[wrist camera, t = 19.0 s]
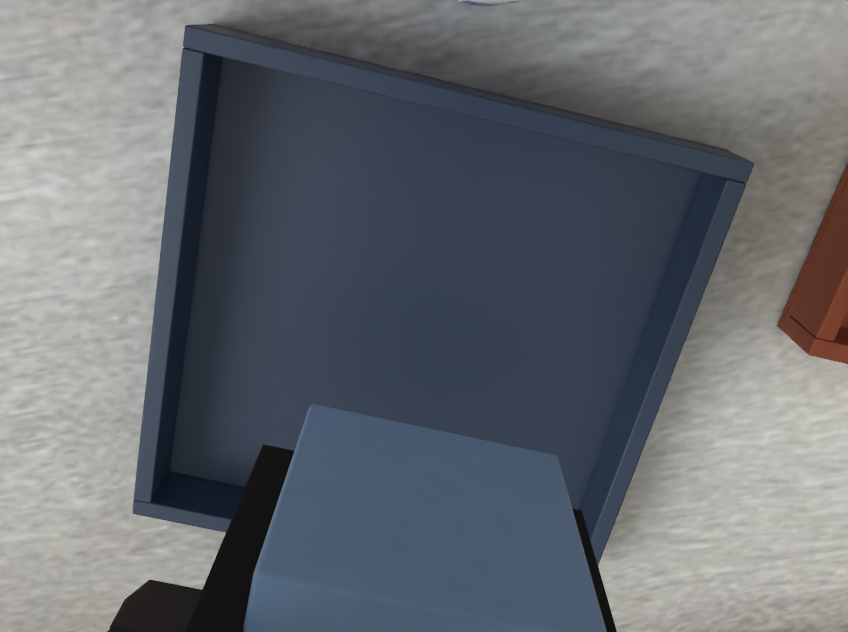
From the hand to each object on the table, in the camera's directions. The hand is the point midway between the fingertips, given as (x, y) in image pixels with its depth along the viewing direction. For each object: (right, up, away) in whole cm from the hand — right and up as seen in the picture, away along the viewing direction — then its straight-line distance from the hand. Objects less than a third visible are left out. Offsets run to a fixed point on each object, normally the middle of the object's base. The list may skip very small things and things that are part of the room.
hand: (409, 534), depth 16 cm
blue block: (0, 0, 0) cm, 0 cm away
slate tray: (0, +4, +11) cm, 11 cm away
